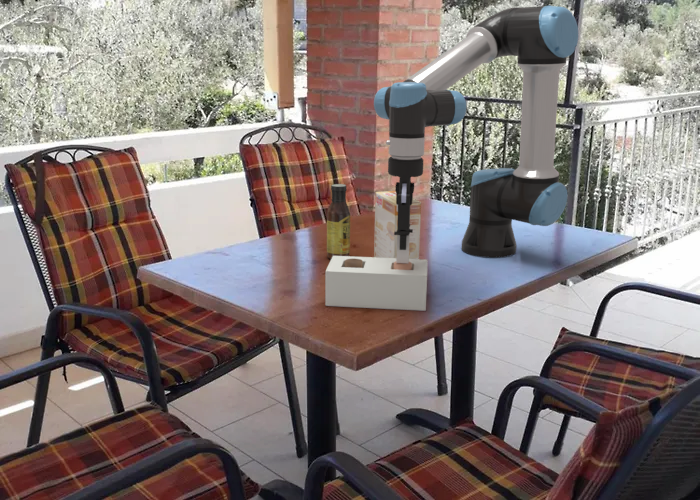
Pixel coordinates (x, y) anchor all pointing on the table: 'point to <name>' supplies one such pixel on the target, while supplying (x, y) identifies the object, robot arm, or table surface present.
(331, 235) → the sauce bottle
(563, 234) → the table surface
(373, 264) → the block
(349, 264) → the peg
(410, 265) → the peg
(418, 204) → the coffeecake box
